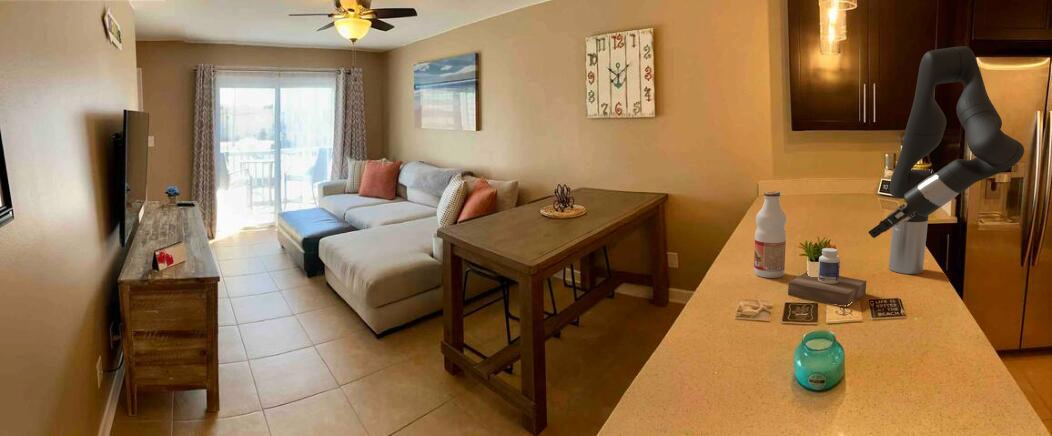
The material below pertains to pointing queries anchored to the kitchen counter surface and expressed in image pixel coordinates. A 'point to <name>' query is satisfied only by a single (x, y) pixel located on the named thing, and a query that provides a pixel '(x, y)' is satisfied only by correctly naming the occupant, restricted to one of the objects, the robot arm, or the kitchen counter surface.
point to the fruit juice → (770, 238)
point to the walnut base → (827, 289)
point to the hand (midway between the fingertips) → (876, 232)
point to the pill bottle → (829, 266)
